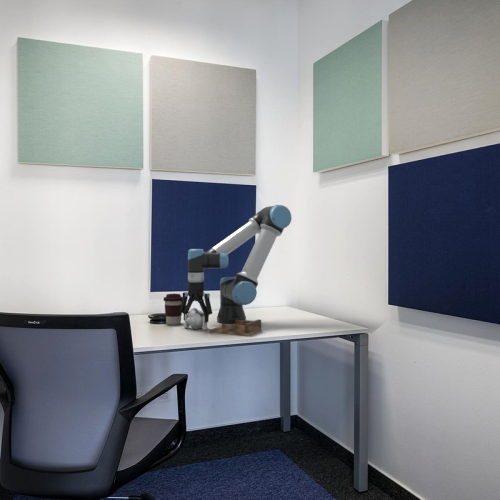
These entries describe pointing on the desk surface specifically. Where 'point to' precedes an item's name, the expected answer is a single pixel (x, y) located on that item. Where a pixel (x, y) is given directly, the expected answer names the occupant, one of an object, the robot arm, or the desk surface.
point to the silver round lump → (195, 318)
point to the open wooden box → (239, 328)
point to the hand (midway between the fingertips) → (195, 328)
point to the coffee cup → (173, 308)
